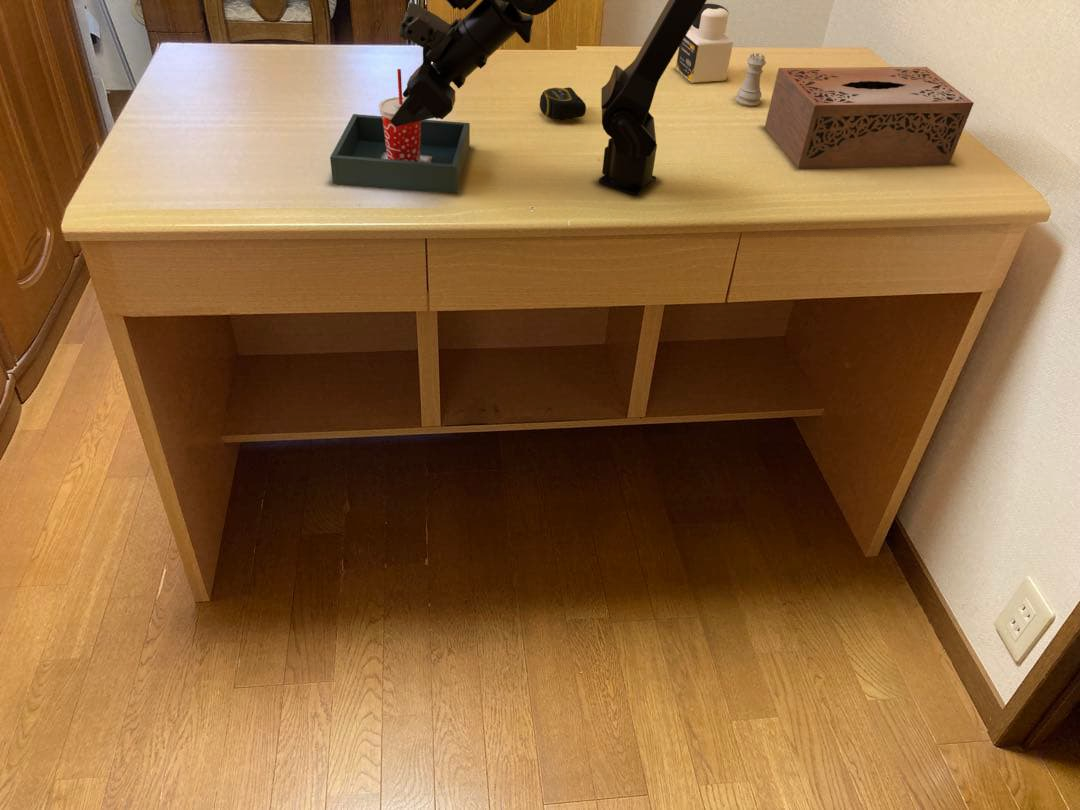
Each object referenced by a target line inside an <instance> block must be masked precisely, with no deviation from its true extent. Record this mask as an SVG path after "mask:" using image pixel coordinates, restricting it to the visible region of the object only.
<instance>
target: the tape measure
mask: <svg viewBox="0 0 1080 810" xmlns="http://www.w3.org/2000/svg"><path fill="white" fill-rule="evenodd" d="M539 109H540V112H541V113H542V114H543V115H544V116H545V117H547V118H549V119H552V120H553V121H555V120H557V121H568V120H569V121H570V120H573V119H578V118H579V119H580V118H582V117H584V116H585V115H586V112H587V105H586V103H585V101H584V100H583V99H582V98H581V97H580V96H578V94H577V93H576V92H575V90H574V89H573V88H571V87H569V86H567V87H564V88H563V87H550V88H547V89H544V91H542V93H541V95H540V98H539Z"/></svg>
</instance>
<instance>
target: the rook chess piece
mask: <svg viewBox="0 0 1080 810" xmlns="http://www.w3.org/2000/svg"><path fill="white" fill-rule="evenodd" d="M746 62H747V65H748V66H747V68H746V74H745V77H744V80H743V82H742V85H740V88H738V89H737V92H736V96H735V101H736V102H737V104H738V105H740V106H743V107H757V106H758V105H759V104H760V103H761V102H762V101H761V98H762V92H761V87H760V85H761V76H762V73H763V67H764V66H765V65H766V64H767V61H766V56H765V55H764V54H760V53H756V54H755V53H751V54H750V55H749V57H748V58H747V59H746Z"/></svg>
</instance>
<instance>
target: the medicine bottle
mask: <svg viewBox="0 0 1080 810" xmlns="http://www.w3.org/2000/svg"><path fill="white" fill-rule="evenodd" d="M729 14H730V12H729V10H728V9H727V8H725V7H724V6H722V5H720V4H717V3H705V4H704V6H703V7H702V9H701V11H700V12H699V14H698V16H697V17H696V19H695V21H694V22H693V24H692V26H691V29H689V31H688V33H687V34H686V36H685V38H684V39H683V41H682V43H681V44H680V46H679V48H678V50H677V51H678V52H677V58H676V65H675V69H676V70H677V71H678V72H679V73H680V74H681V75H682V76H683V77H685V78H686V79H687V80H688V81H689V82H690V83H691V84H694V83H708V82H709V83H710V82H721V81H722V82H723V81H726V80H727V77H728V76H727V75H728V70H729V66H730V60H731V57H732V56H731V55H732V50H733V46H734V41H733V40H732V39H730V37H728V36H727V35H726V30H727V25H728V19H729Z"/></svg>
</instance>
